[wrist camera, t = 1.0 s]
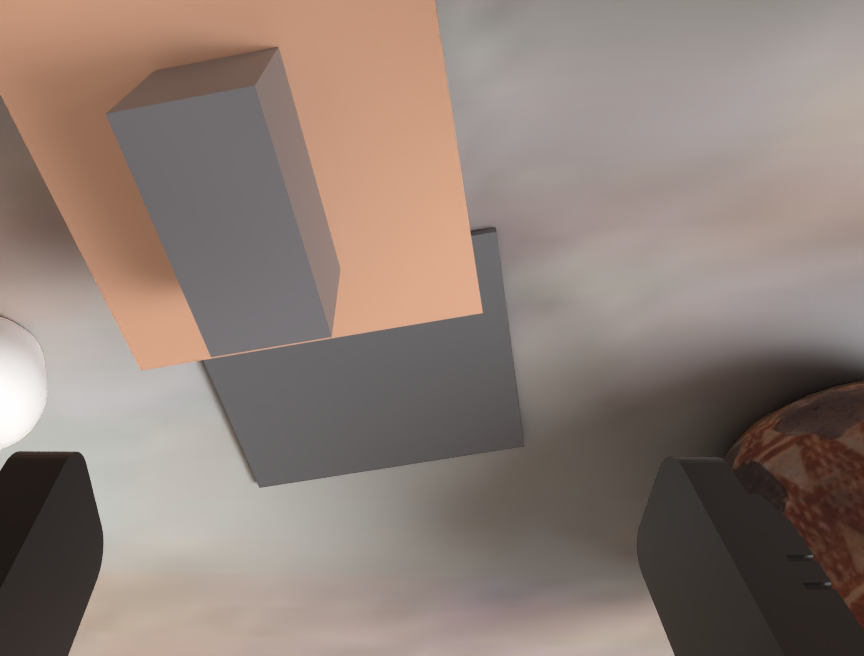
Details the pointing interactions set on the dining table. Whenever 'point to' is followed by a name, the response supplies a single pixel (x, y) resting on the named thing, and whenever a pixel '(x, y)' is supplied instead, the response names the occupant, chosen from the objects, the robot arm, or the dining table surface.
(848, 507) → the jug
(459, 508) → the dining table surface
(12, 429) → the plain white apple
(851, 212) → the dining table surface
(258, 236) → the lid
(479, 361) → the mat
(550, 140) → the dining table surface
